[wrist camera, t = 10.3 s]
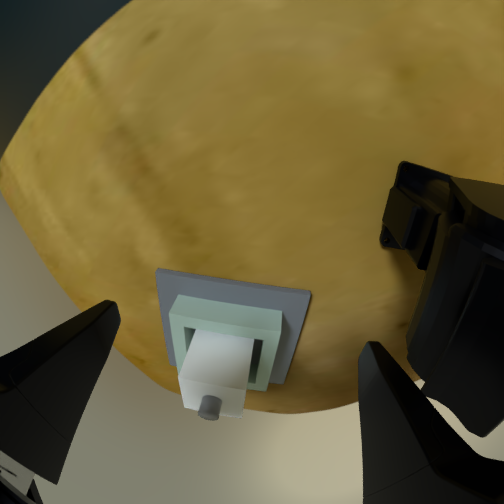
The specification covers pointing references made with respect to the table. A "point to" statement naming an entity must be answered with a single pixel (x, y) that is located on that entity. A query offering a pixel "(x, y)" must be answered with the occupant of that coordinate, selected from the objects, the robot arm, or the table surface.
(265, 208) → the table surface
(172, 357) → the charging dock
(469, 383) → the robot arm
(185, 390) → the plug
